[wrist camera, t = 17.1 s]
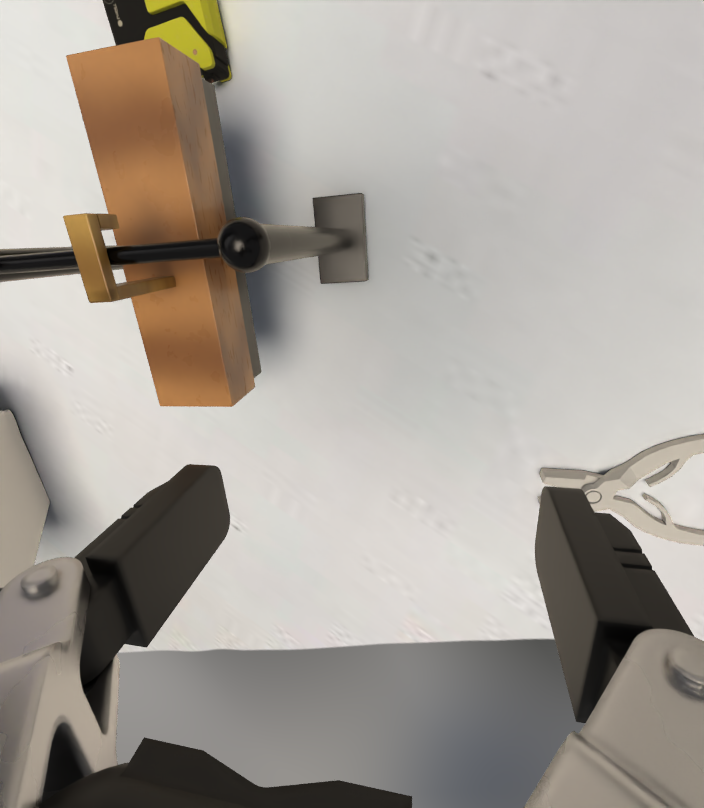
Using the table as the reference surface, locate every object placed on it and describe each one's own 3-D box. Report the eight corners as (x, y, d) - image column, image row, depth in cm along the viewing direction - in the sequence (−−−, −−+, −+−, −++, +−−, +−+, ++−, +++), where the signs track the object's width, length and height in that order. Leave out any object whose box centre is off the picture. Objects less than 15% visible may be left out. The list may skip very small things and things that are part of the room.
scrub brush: (140, 89, 25) (-49, 3, 15) (218, 76, 24) (66, -26, 14) (204, 377, 32) (100, 444, 22) (266, 377, 31) (186, 446, 21)
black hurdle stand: (138, 216, 34) (-154, 199, 18) (363, 194, 30) (267, 143, 14) (155, 292, 37) (-89, 340, 20) (368, 279, 33) (290, 327, 16)
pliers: (742, 554, 33) (538, 544, 36) (729, 541, 35) (535, 532, 38) (774, 442, 30) (546, 442, 33) (759, 432, 31) (542, 433, 34)
